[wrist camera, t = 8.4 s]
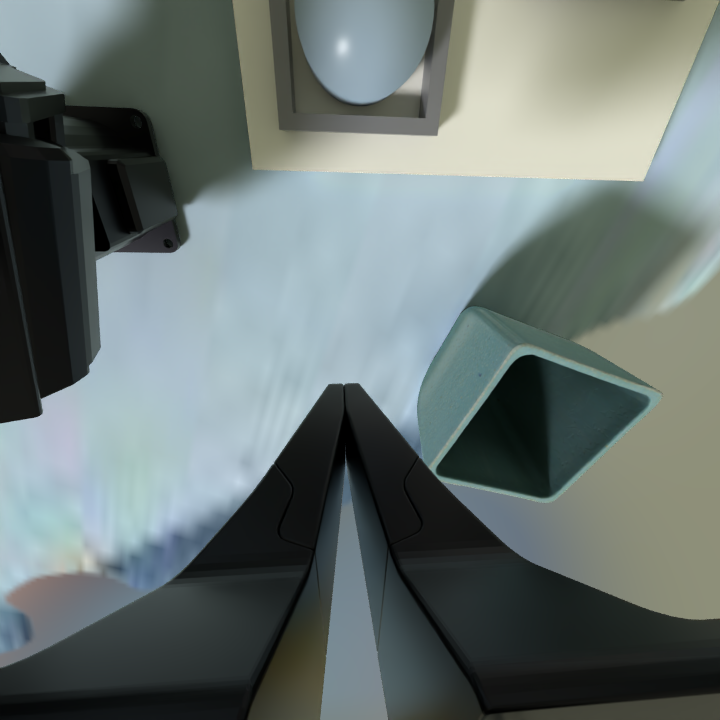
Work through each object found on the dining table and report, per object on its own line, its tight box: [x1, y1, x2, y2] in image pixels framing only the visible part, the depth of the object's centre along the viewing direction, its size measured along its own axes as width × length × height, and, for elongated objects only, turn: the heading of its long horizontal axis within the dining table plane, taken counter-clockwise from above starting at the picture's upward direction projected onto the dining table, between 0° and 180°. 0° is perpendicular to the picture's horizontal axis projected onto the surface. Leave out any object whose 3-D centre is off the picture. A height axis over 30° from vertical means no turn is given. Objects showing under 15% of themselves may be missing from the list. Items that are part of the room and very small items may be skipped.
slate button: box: [294, 0, 434, 106], centre depth 13 cm, size 5×5×2 cm
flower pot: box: [417, 306, 663, 503], centre depth 21 cm, size 9×9×9 cm
